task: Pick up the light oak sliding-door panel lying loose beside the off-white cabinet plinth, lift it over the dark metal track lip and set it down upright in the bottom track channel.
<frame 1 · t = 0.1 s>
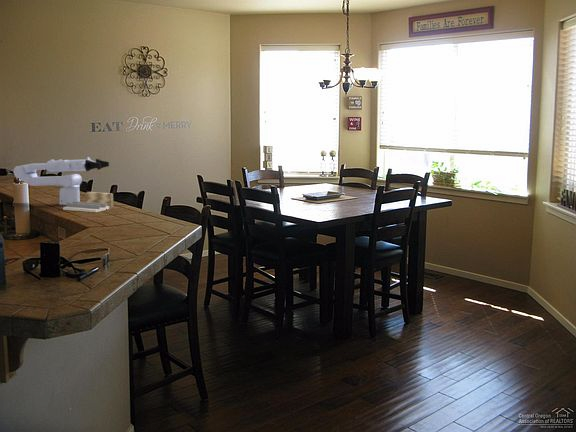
hand: (104, 164, 301), 21 cm above the countertop, tool horizontal, fingers open, 7 cm apart
door panel: (99, 206, 305), on the countertop
track plinth: (86, 209, 294), on the countertop
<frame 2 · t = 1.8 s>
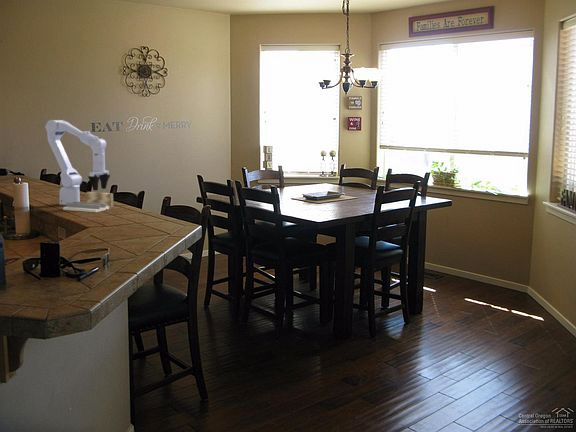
hand: (99, 189, 304), 9 cm above the countertop, tool pointing down, fingers open, 7 cm apart
nothing on the countertop moved.
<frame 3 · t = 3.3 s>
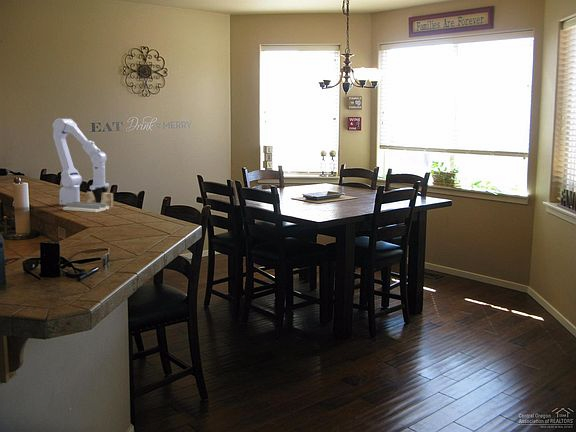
hand: (99, 202, 305), 2 cm above the countertop, tool pointing down, fingers closed on door panel, 2 cm apart
door panel: (99, 206, 305), on the countertop, touching gripper
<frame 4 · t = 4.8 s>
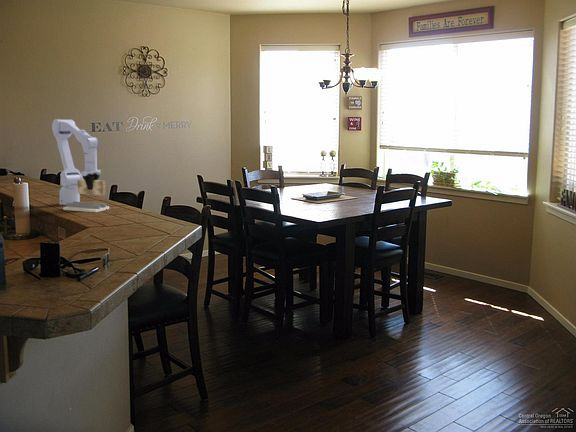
hand: (91, 189, 297), 9 cm above the countertop, tool pointing down, fingers closed on door panel, 2 cm apart
door panel: (91, 194, 297), point 7 cm above the countertop, touching gripper
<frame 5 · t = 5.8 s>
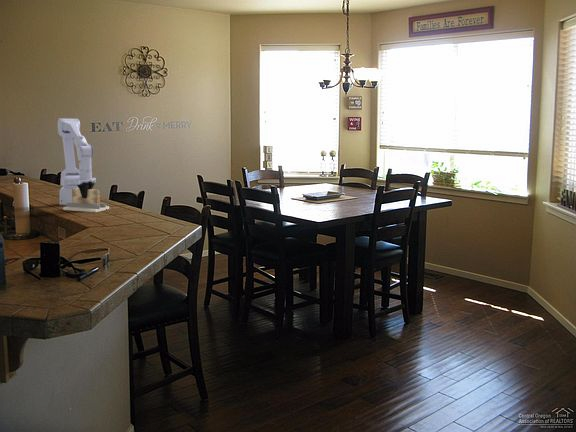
hand: (86, 197, 293), 6 cm above the countertop, tool pointing down, fingers closed on door panel, 2 cm apart
door panel: (86, 203, 293), point 3 cm above the countertop, touching gripper
when the fingers open (5 cm above the countertop, at t = 6.6 s): door panel stays where it is, resting on track plinth.
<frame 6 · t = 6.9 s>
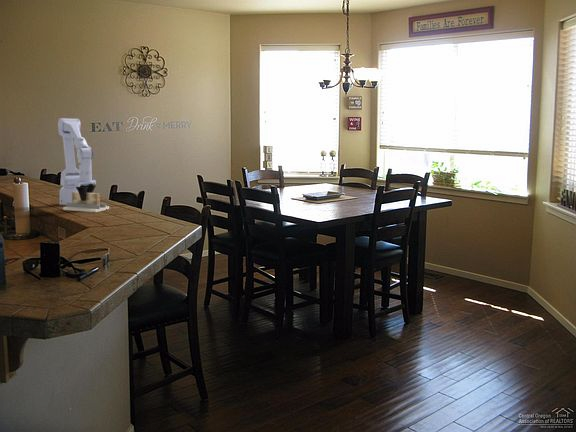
hand: (86, 200, 293), 5 cm above the countertop, tool pointing down, fingers open, 4 cm apart
door panel: (86, 206, 294), point 1 cm above the countertop, touching track plinth
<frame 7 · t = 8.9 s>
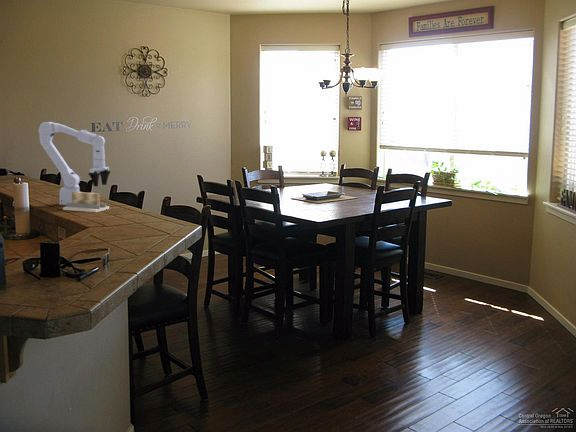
hand: (100, 185, 309), 10 cm above the countertop, tool pointing down, fingers open, 7 cm apart
nothing on the countertop moved.
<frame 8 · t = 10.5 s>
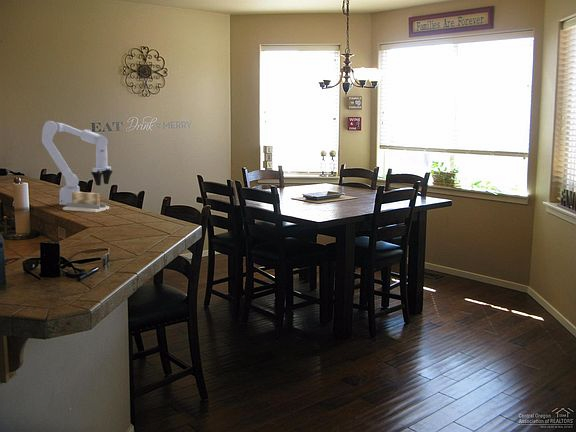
hand: (102, 184, 313), 10 cm above the countertop, tool pointing down, fingers open, 7 cm apart
nothing on the countertop moved.
at the end: door panel inside the target area on the track plinth (0.2 cm from its centre), point 1.2 cm above the track plinth's base; door panel tilted 0°; the gripper is holding nothing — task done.
